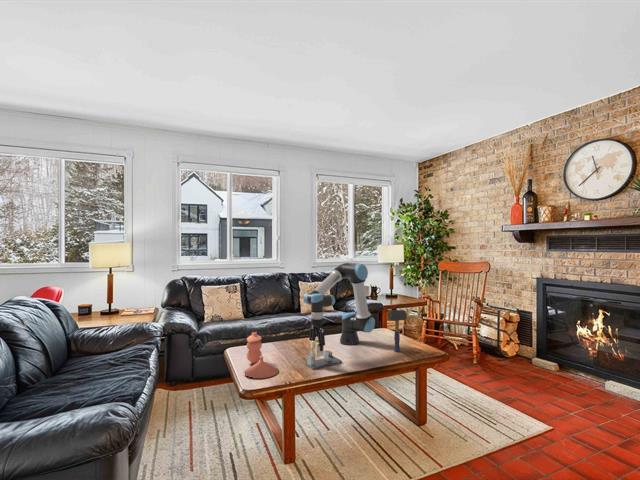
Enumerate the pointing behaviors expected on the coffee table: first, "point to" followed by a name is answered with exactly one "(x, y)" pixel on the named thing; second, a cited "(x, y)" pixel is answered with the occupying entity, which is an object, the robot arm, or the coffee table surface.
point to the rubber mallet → (397, 324)
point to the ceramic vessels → (255, 355)
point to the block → (315, 348)
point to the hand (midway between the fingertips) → (316, 354)
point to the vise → (320, 362)
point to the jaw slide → (328, 355)
